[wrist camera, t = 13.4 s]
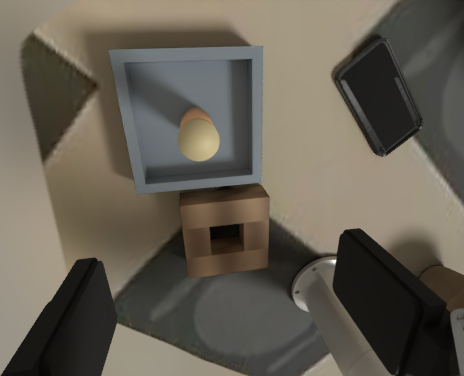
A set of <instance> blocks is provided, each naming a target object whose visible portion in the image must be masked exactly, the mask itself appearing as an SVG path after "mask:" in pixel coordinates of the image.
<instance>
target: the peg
mask: <svg viewBox="0 0 464 376" xmlns="http://www.w3.org/2000/svg"><path fill="white" fill-rule="evenodd" d="M219 143H220V139H219V134H218V132H217V130H216V128H215V126H214V125H213V123H212V121H211V119H210V117H209V116H208V114H207V113H206V112H205V111H204V110H203V109H201V108H197V107H193V108H190V109H188V110H186V111H185V112H184V114H183V116H182V119H181V124H180V129H179V135H178V146H179V149H180V151H181V152H182V153H183V155H184V156H186V157H187V158H189V159H191V160H193V161H205V160H207V159H209V158H211V157H212V156H213V155H214V154H215V153H216V152H217V150H218V148H219Z"/></svg>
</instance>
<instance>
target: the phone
mask: <svg viewBox="0 0 464 376" xmlns="http://www.w3.org/2000/svg"><path fill="white" fill-rule="evenodd" d="M335 82H336V85H337V86H338V88H339V90H340V92H341V94H342V95H343V97H344V99H345V101H346V103H347V104H348V106H349V108H350V110H351V112H352V113H353V115H354V117H355V119H356V120H357V122H358V124H359V126H360V128H361V129H362V131H363V133H364V135H365V137H366V138H367V140H368V142H369V144H370V145H371V147H372V149H373V151H374V153H375V154H376V155H378V156H381V157H384V156H387V155H388V154H389V153H391V152H392V151H393V150H395V149H396V148H397V147H399V146H400V145H401V144H403V143H404V142H405V141H407V140H408V139H409V138H410V137H412V136H413V135H414V134H416V133H417V132H418V131H419V130H420V129H421V128H422V126H423V119H422V117H421V114H420V112H419V110H418V107H417V105H416V103H415V100H414V98H413V96H412V93H411V91H410V89H409V86H408V84H407V82H406V79H405V77H404V75H403V72H402V70H401V68H400V65H399V63H398V61H397V58H396V56H395V54H394V51H393V49H392V47H391V44H390V42H389V40H388V39H386V38H380V39H376V40H375V41H373V42H372V43H371V44H370V45H369V46H367V47H366V48H365V49H364V50H363V51H362V52H360V53H359V54H358V55H357V56H356V57H354V58H353V59H352V60H351V61H350V62H348V63H347V64H346V65H345V66H344V67H343V68H341V69H340V70H339V71H338V72H337V74H336V76H335Z"/></svg>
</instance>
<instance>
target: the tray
mask: <svg viewBox="0 0 464 376" xmlns="http://www.w3.org/2000/svg"><path fill="white" fill-rule="evenodd" d="M108 52H109V57H110V62H111V67H112V72H113V77H114V82H115V87H116V92H117V97H118V102H119V107H120V112H121V117H122V122H123V127H124V132H125V137H126V142H127V147H128V152H129V157H130V162H131V167H132V172H133V177H134V182H135V187H136V192H137V194H146V193H157V192H167V191H178V190H188V189H199V188H209V187H220V186H230V185H241V184H251V183H262V96H263V46H240V47H198V48H157V49H115V50H108ZM193 107H197V108H201V109H203V110H204V111H205V112H206V113H207V114H208V116H209V117H210V119H211V121H212V123H213V125H214V126H215V128H216V130H217V132H218V134H219V139H220V143H219V148H218V150H217V152H216V153H215V154H214V155H213V156H212V157H211V158H209V159H207V160H205V161H193V160H191V159H189V158H187V157H186V156H184V155H183V153H182V152H181V151H180V149H179V146H178V135H179V129H180V124H181V119H182V116H183V114H184V112H185V111H186V110H188V109H190V108H193Z"/></svg>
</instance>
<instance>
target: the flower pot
mask: <svg viewBox="0 0 464 376" xmlns="http://www.w3.org/2000/svg"><path fill="white" fill-rule="evenodd" d="M419 280H421V281H422V282H423V283H424V284H425V285H426V286H428V287H429V288H430V289H431V290H432V291H433V292H434V293H436V294H437V295H438V296H439V297H440V298H441V299H443V300H444V301H445V302H446V303H447V306H446V309H447V310H448V311H450V312H453V311H454V310H456V309H464V275H462V274H460V273H458V272H456V271H453V270H451V269H449V268H446V267H444V266H433V267H431V268H429V269H427V270H426V271H425V272H423V273H422V275H421V276H420V278H419Z"/></svg>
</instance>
